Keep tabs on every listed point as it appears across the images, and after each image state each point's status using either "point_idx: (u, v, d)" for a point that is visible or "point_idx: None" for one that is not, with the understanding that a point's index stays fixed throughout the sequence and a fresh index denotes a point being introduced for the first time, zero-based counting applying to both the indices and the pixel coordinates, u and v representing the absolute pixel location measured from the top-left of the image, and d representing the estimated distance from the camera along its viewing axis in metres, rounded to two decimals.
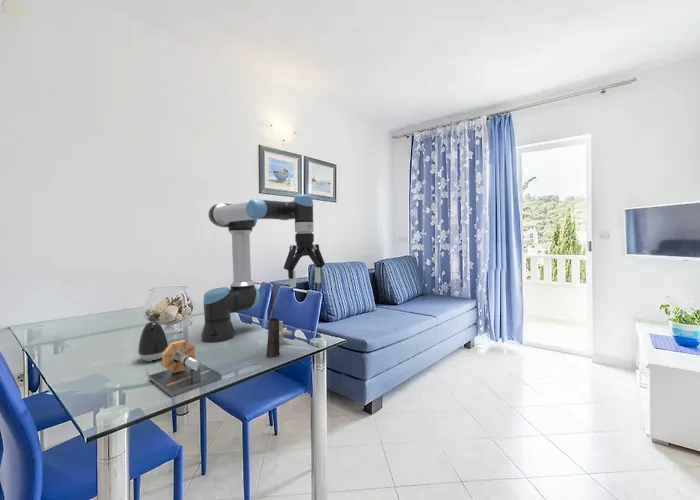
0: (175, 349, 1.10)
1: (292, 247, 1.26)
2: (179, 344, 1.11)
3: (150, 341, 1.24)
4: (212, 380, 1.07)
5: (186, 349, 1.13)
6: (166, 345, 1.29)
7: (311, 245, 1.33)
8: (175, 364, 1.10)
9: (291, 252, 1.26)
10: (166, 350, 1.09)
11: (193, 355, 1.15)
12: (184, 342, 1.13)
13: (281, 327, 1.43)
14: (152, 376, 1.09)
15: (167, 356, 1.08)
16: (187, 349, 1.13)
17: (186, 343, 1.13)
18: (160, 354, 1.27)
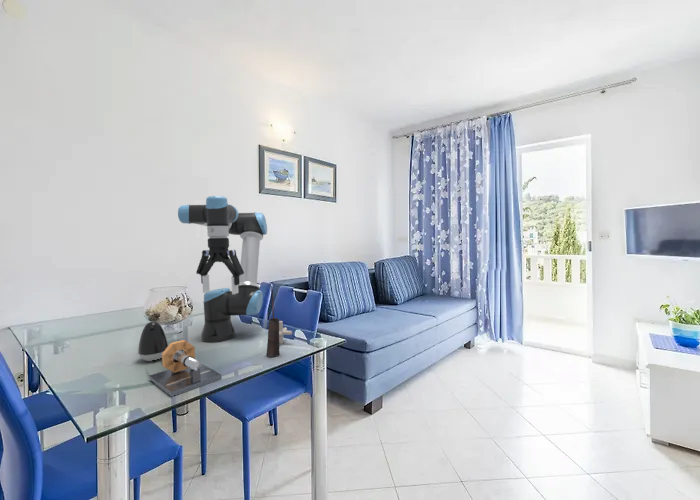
0: (175, 349, 1.10)
1: None
2: (179, 344, 1.11)
3: (150, 341, 1.24)
4: (212, 380, 1.07)
5: (186, 349, 1.13)
6: (166, 345, 1.29)
7: (222, 251, 1.20)
8: (175, 364, 1.10)
9: None
10: (166, 350, 1.09)
11: (193, 355, 1.15)
12: (184, 342, 1.13)
13: (281, 327, 1.43)
14: (152, 376, 1.09)
15: (167, 356, 1.08)
16: (187, 349, 1.13)
17: (186, 343, 1.13)
18: (160, 354, 1.27)
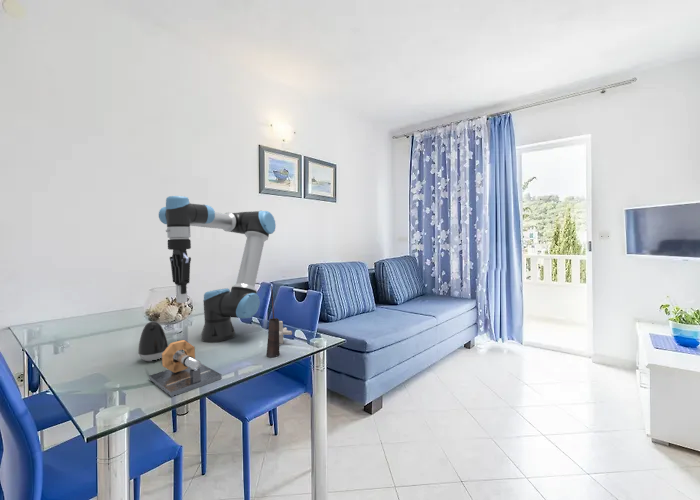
0: (175, 349, 1.10)
1: None
2: (179, 344, 1.11)
3: (150, 341, 1.24)
4: (212, 380, 1.07)
5: (186, 349, 1.13)
6: (166, 345, 1.29)
7: (180, 252, 1.16)
8: (175, 364, 1.10)
9: None
10: (166, 350, 1.09)
11: (193, 355, 1.15)
12: (184, 342, 1.13)
13: (281, 327, 1.43)
14: (152, 376, 1.09)
15: (167, 356, 1.08)
16: (187, 349, 1.13)
17: (186, 343, 1.13)
18: (160, 354, 1.27)
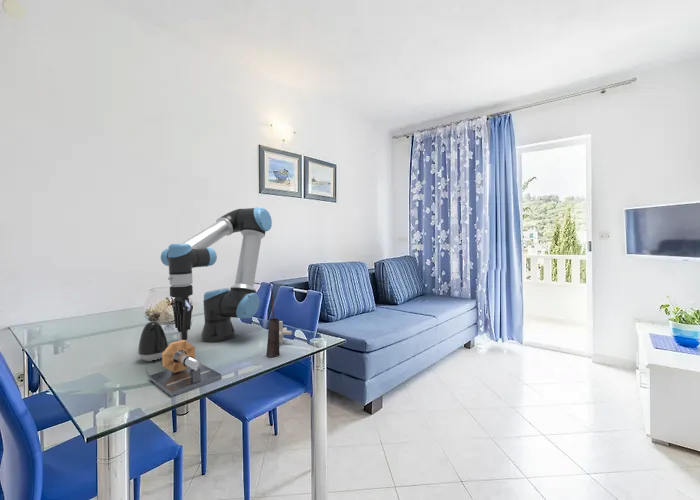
0: (175, 349, 1.10)
1: None
2: (179, 344, 1.11)
3: (150, 341, 1.24)
4: (212, 380, 1.07)
5: (186, 349, 1.13)
6: (166, 345, 1.29)
7: (182, 300, 1.16)
8: (175, 364, 1.10)
9: None
10: (166, 350, 1.09)
11: (193, 355, 1.15)
12: (184, 342, 1.13)
13: (281, 327, 1.43)
14: (152, 376, 1.09)
15: (167, 356, 1.08)
16: (187, 349, 1.13)
17: (186, 343, 1.13)
18: (160, 354, 1.27)
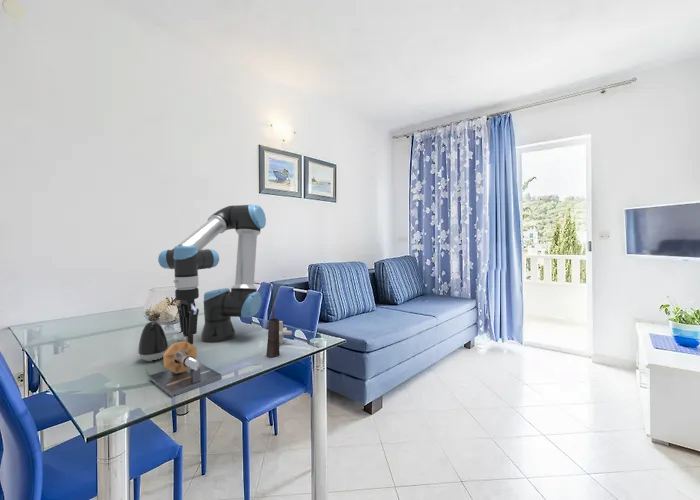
0: (176, 350, 1.10)
1: None
2: (180, 345, 1.11)
3: (150, 341, 1.24)
4: (212, 380, 1.07)
5: (187, 350, 1.12)
6: (166, 345, 1.29)
7: (187, 303, 1.13)
8: (176, 365, 1.10)
9: None
10: (167, 351, 1.08)
11: (194, 356, 1.14)
12: (185, 343, 1.12)
13: (281, 327, 1.43)
14: (152, 376, 1.09)
15: (168, 357, 1.08)
16: (188, 350, 1.13)
17: (187, 344, 1.12)
18: (160, 354, 1.27)
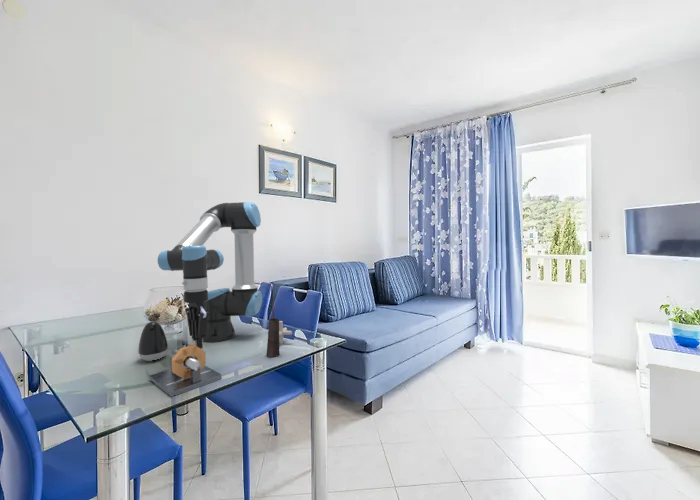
0: (185, 354, 1.05)
1: None
2: (189, 349, 1.06)
3: (150, 341, 1.24)
4: (212, 380, 1.07)
5: (196, 354, 1.08)
6: (166, 345, 1.29)
7: (197, 306, 1.08)
8: (185, 370, 1.05)
9: None
10: (176, 355, 1.04)
11: (204, 360, 1.10)
12: (194, 347, 1.07)
13: (281, 327, 1.43)
14: (152, 376, 1.09)
15: (177, 362, 1.03)
16: (197, 354, 1.08)
17: (196, 348, 1.08)
18: (160, 354, 1.27)
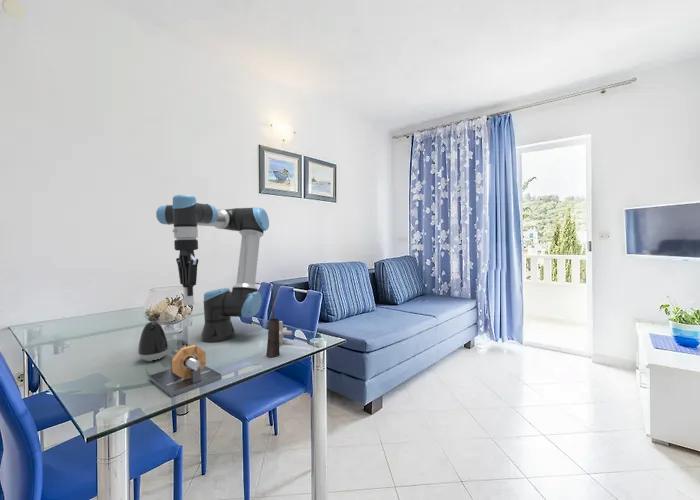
0: (185, 355, 1.05)
1: None
2: (190, 349, 1.06)
3: (150, 341, 1.24)
4: (212, 380, 1.07)
5: (197, 354, 1.08)
6: (166, 345, 1.29)
7: (187, 253, 1.12)
8: (185, 370, 1.05)
9: None
10: (176, 356, 1.04)
11: (204, 361, 1.10)
12: (195, 347, 1.07)
13: (281, 327, 1.43)
14: (152, 376, 1.09)
15: (177, 362, 1.03)
16: (198, 354, 1.08)
17: (197, 348, 1.08)
18: (160, 354, 1.27)
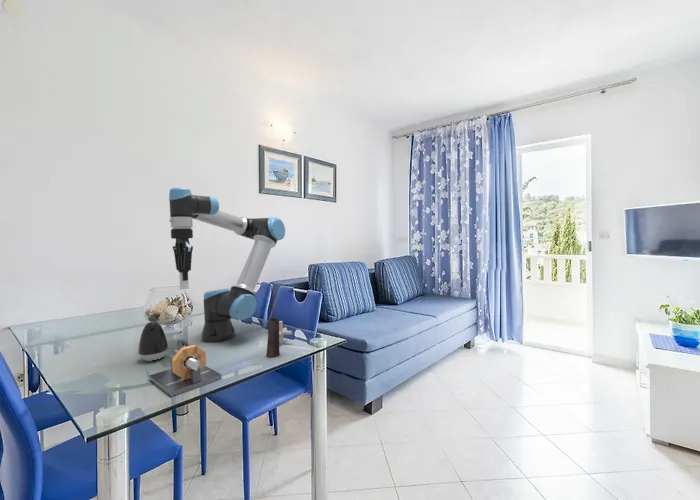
0: (185, 355, 1.05)
1: None
2: (190, 349, 1.06)
3: (150, 341, 1.24)
4: (212, 380, 1.07)
5: (197, 354, 1.08)
6: (166, 345, 1.29)
7: (182, 241, 1.22)
8: (185, 370, 1.05)
9: None
10: (176, 356, 1.04)
11: (204, 361, 1.10)
12: (195, 347, 1.07)
13: (281, 327, 1.43)
14: (152, 376, 1.09)
15: (177, 362, 1.03)
16: (198, 354, 1.08)
17: (197, 348, 1.08)
18: (160, 354, 1.27)
